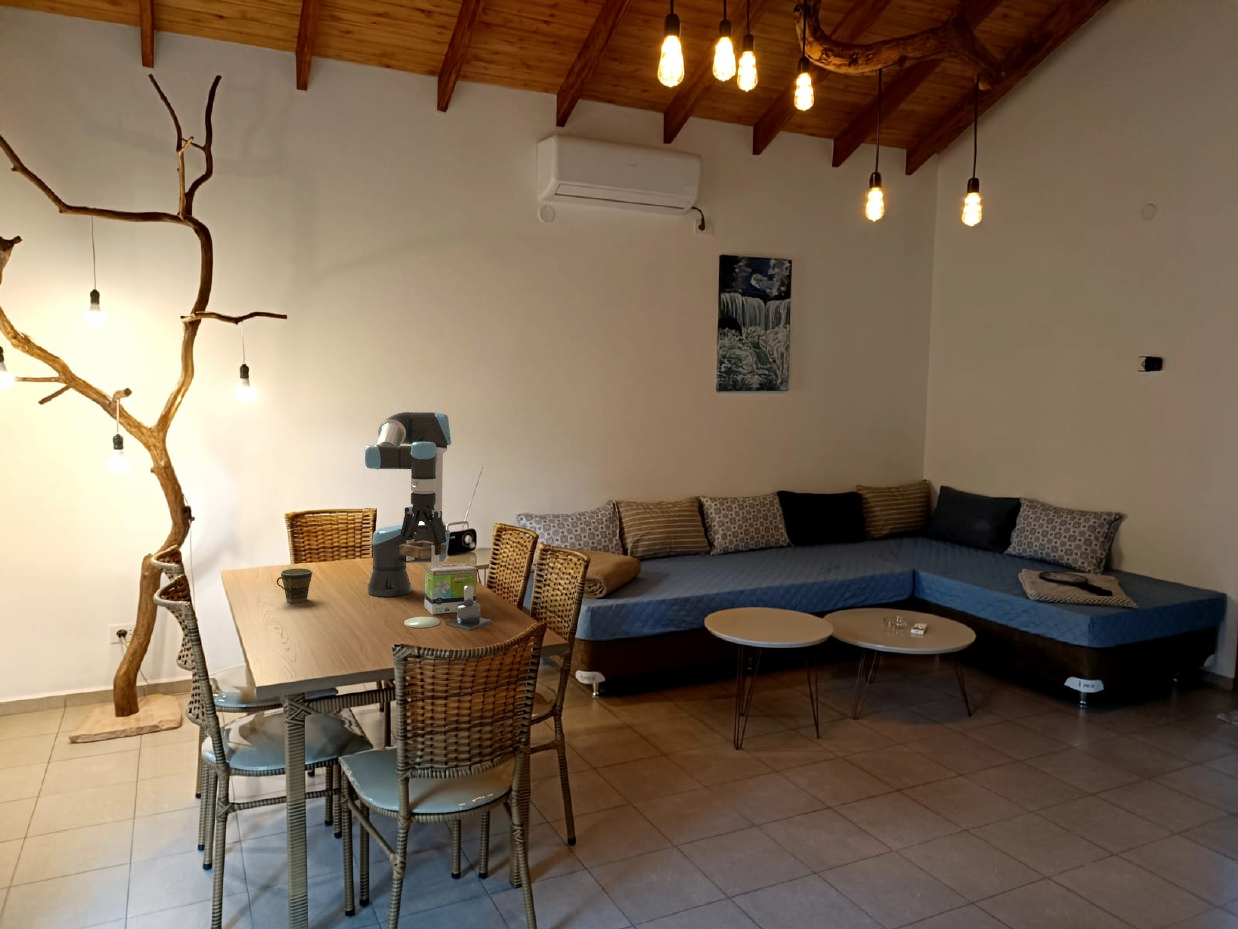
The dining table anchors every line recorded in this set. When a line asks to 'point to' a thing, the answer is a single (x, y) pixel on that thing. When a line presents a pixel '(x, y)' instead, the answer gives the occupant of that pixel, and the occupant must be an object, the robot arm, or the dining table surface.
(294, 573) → the ceramic cup
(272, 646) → the dining table surface
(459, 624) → the peg stand
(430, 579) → the tea box
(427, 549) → the walnut link
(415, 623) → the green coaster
